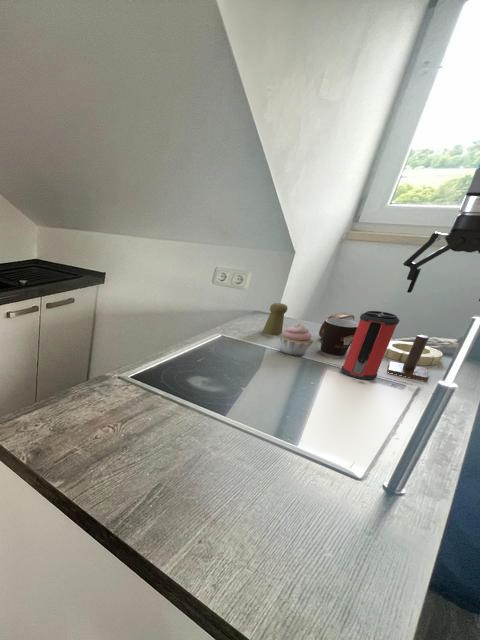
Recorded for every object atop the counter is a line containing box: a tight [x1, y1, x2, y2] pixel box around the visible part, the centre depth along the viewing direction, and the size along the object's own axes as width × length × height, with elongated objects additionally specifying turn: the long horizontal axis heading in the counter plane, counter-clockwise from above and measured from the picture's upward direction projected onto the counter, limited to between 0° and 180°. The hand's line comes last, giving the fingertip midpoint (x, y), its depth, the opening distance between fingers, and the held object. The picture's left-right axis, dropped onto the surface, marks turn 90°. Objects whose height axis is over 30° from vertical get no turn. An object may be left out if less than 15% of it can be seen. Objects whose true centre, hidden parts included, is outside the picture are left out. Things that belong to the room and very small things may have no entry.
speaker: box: [340, 310, 400, 381], centre depth 107 cm, size 8×8×18 cm
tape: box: [384, 340, 444, 366], centre depth 121 cm, size 14×14×3 cm
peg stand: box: [387, 334, 430, 383], centre depth 109 cm, size 8×8×11 cm
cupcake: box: [278, 322, 314, 356], centre depth 125 cm, size 9×9×10 cm
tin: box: [318, 312, 355, 338], centre depth 136 cm, size 15×3×8 cm, turn 114°
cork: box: [262, 302, 289, 336], centre depth 141 cm, size 6×6×11 cm
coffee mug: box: [319, 318, 359, 357], centre depth 123 cm, size 12×9×10 cm
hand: (443, 296), depth 107 cm, fingers open, 13 cm apart
